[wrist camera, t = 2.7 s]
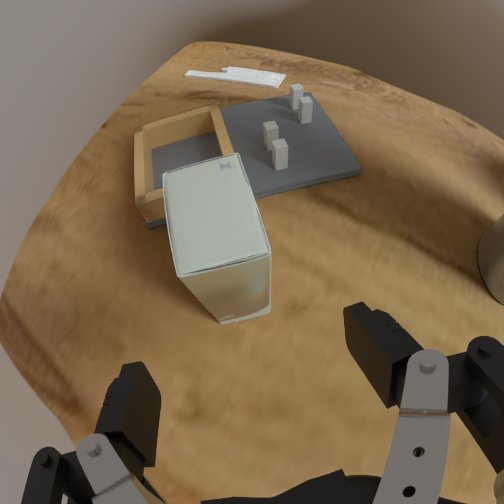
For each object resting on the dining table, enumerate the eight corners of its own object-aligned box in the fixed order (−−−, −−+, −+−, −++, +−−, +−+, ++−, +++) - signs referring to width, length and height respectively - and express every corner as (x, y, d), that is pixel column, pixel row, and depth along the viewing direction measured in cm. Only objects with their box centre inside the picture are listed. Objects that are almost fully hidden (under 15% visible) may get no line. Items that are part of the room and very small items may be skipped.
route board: (309, 97, 34) (311, 73, 31) (359, 174, 29) (368, 148, 25) (143, 137, 33) (133, 114, 30) (148, 228, 28) (132, 206, 24)
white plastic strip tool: (201, 64, 41) (200, 59, 40) (288, 76, 38) (288, 70, 37) (185, 79, 39) (183, 73, 38) (276, 91, 36) (276, 85, 35)
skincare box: (205, 259, 26) (159, 167, 15) (253, 246, 26) (238, 145, 15) (221, 330, 23) (172, 279, 12) (273, 316, 23) (273, 252, 12)
